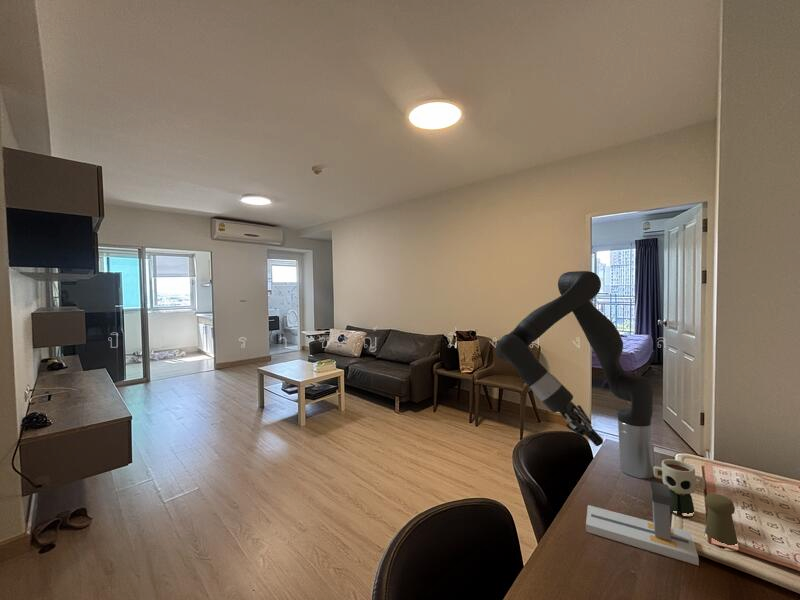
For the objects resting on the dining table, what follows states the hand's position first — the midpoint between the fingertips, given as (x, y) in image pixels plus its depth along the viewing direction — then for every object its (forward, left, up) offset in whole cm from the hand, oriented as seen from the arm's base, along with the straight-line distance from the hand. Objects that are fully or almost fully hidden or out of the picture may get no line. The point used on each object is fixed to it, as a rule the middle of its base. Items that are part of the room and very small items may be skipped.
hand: (600, 443), depth 88 cm
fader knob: (-7, +10, -19) cm, 23 cm away
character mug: (-23, +4, -22) cm, 32 cm away
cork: (-20, +15, -22) cm, 33 cm away
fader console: (-4, +6, -22) cm, 23 cm away
